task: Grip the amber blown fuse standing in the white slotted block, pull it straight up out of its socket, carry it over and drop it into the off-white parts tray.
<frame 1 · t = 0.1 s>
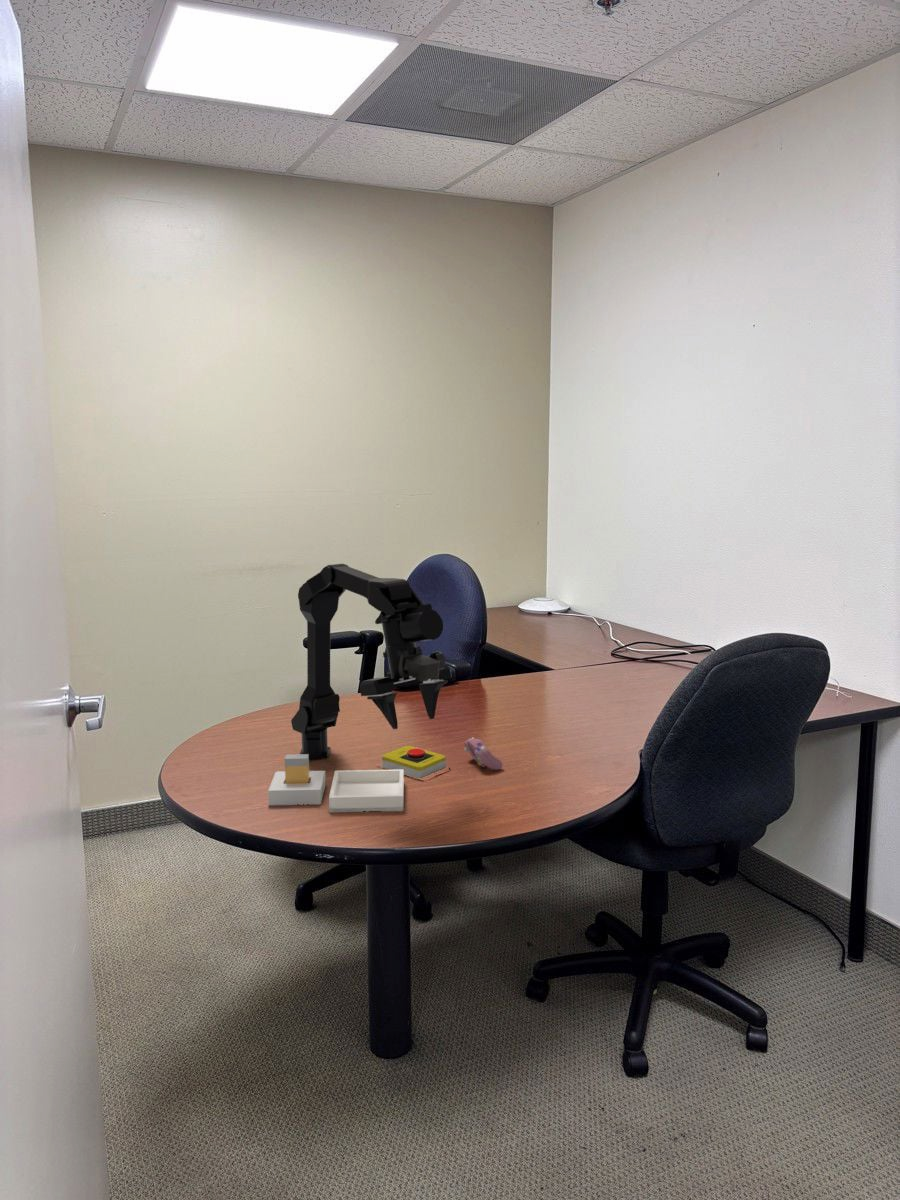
hand: (414, 723, 170), 15 cm above the table, tool pointing down, fingers open, 9 cm apart
parts tray: (368, 797, 174), on the table
emergency button: (412, 770, 190), on the table
white slotted block: (298, 794, 175), on the table
video game controller: (482, 765, 192), on the table
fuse: (297, 775, 174), in the white slotted block
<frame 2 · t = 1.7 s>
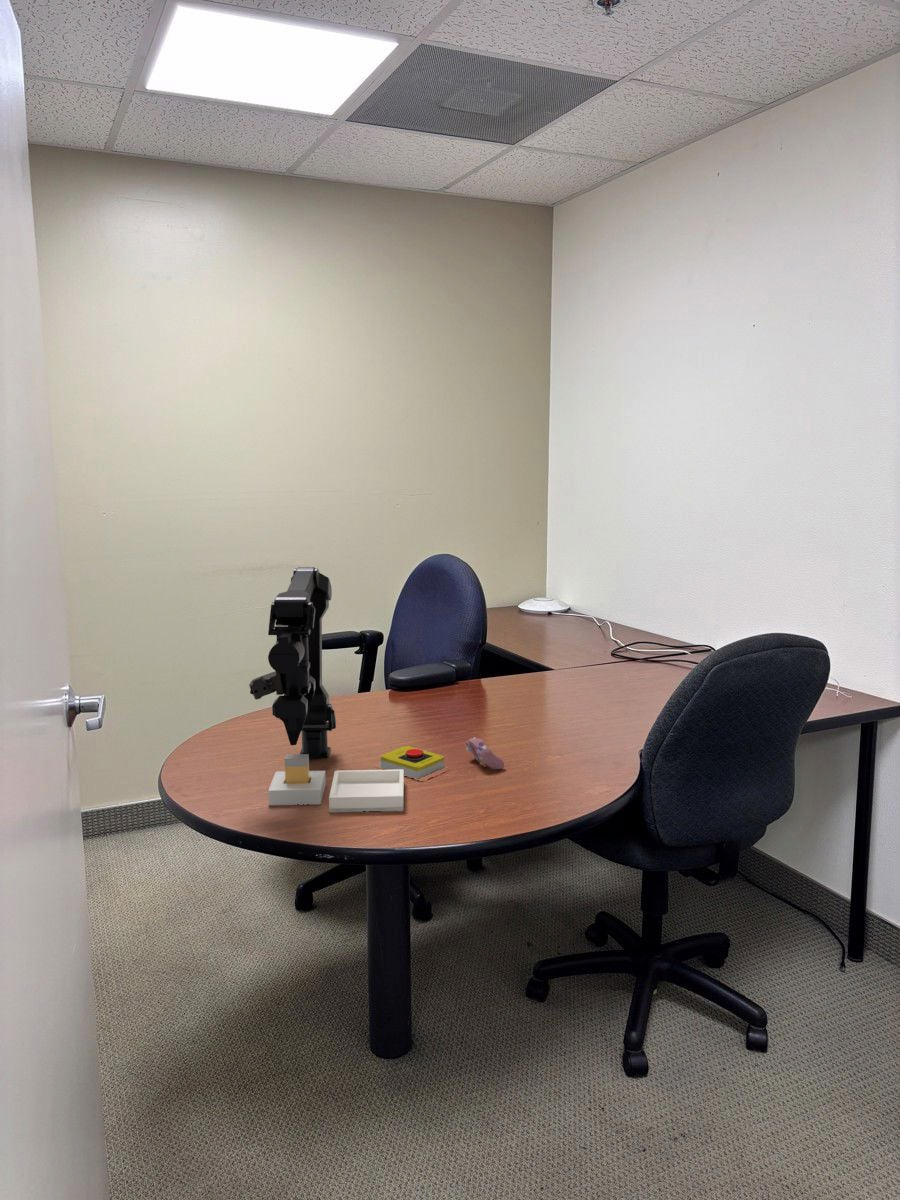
hand: (296, 737, 173), 12 cm above the table, tool pointing down, fingers open, 9 cm apart
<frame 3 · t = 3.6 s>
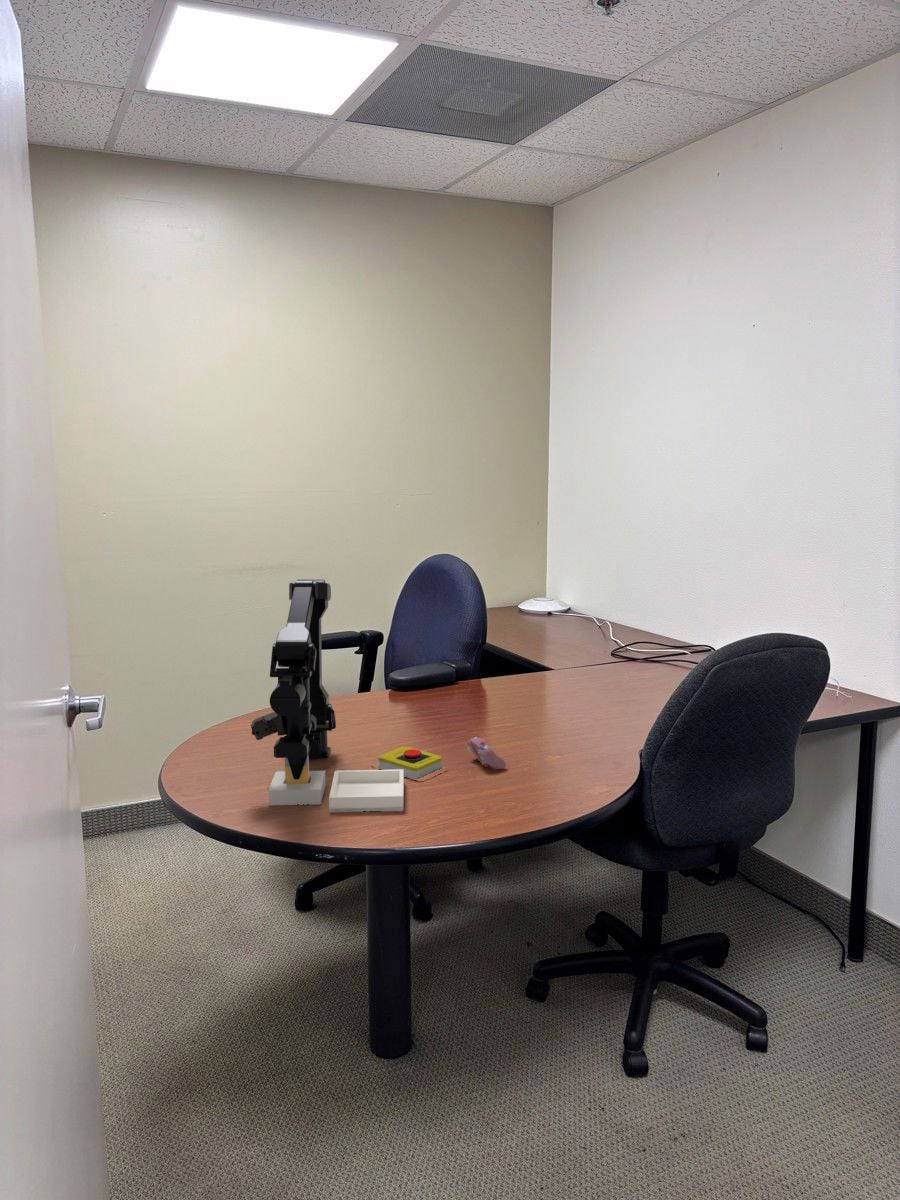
hand: (297, 776, 174), 4 cm above the table, tool pointing down, fingers closed on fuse, 2 cm apart
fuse: (297, 775, 174), in the white slotted block, touching gripper
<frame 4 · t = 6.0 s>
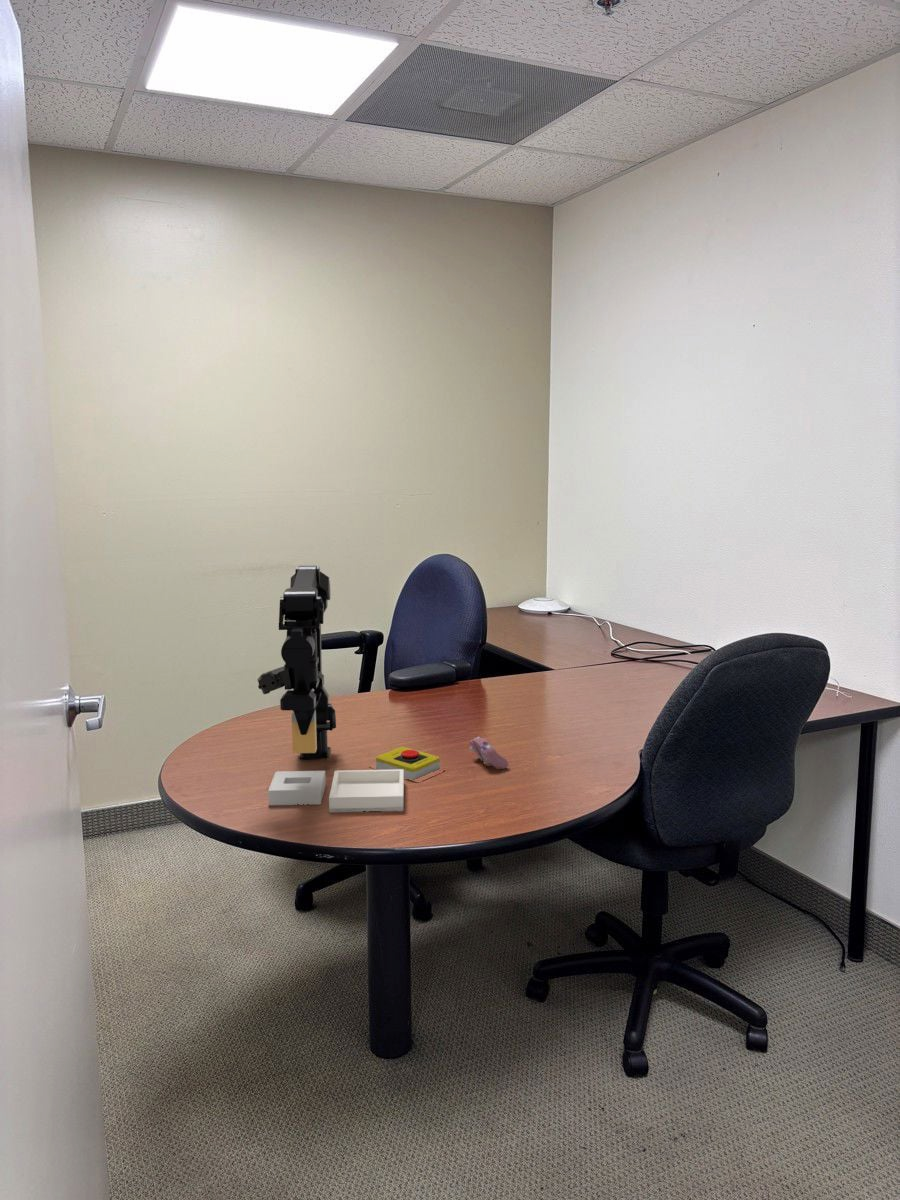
hand: (304, 732, 173), 13 cm above the table, tool pointing down, fingers closed on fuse, 2 cm apart
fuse: (304, 731, 173), point 13 cm above the table, touching gripper
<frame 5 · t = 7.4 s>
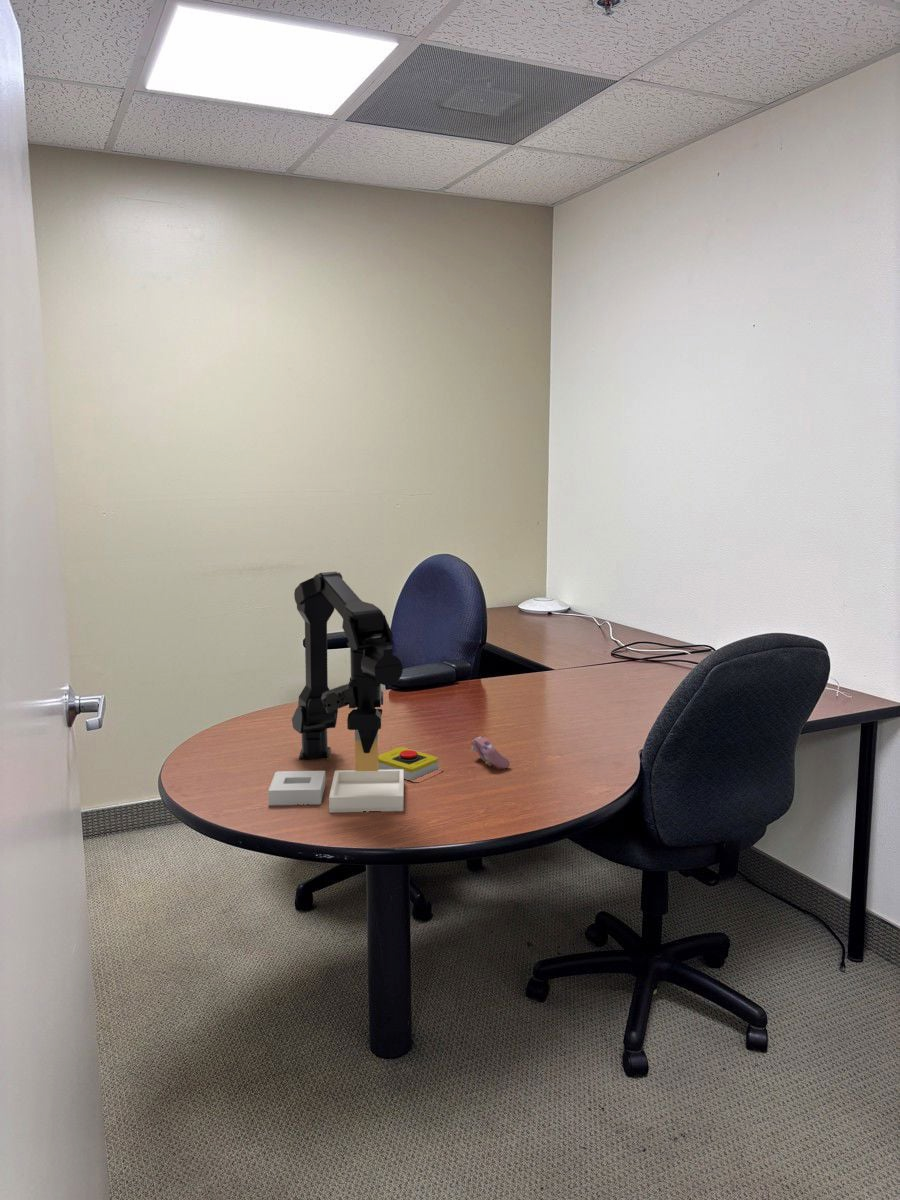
hand: (366, 750, 172), 10 cm above the table, tool pointing down, fingers closed on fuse, 2 cm apart
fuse: (366, 749, 172), point 10 cm above the table, touching gripper
when the fingers open (6 cm above the table, at t = 8.6 s): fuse drops 1 cm, resting on parts tray.
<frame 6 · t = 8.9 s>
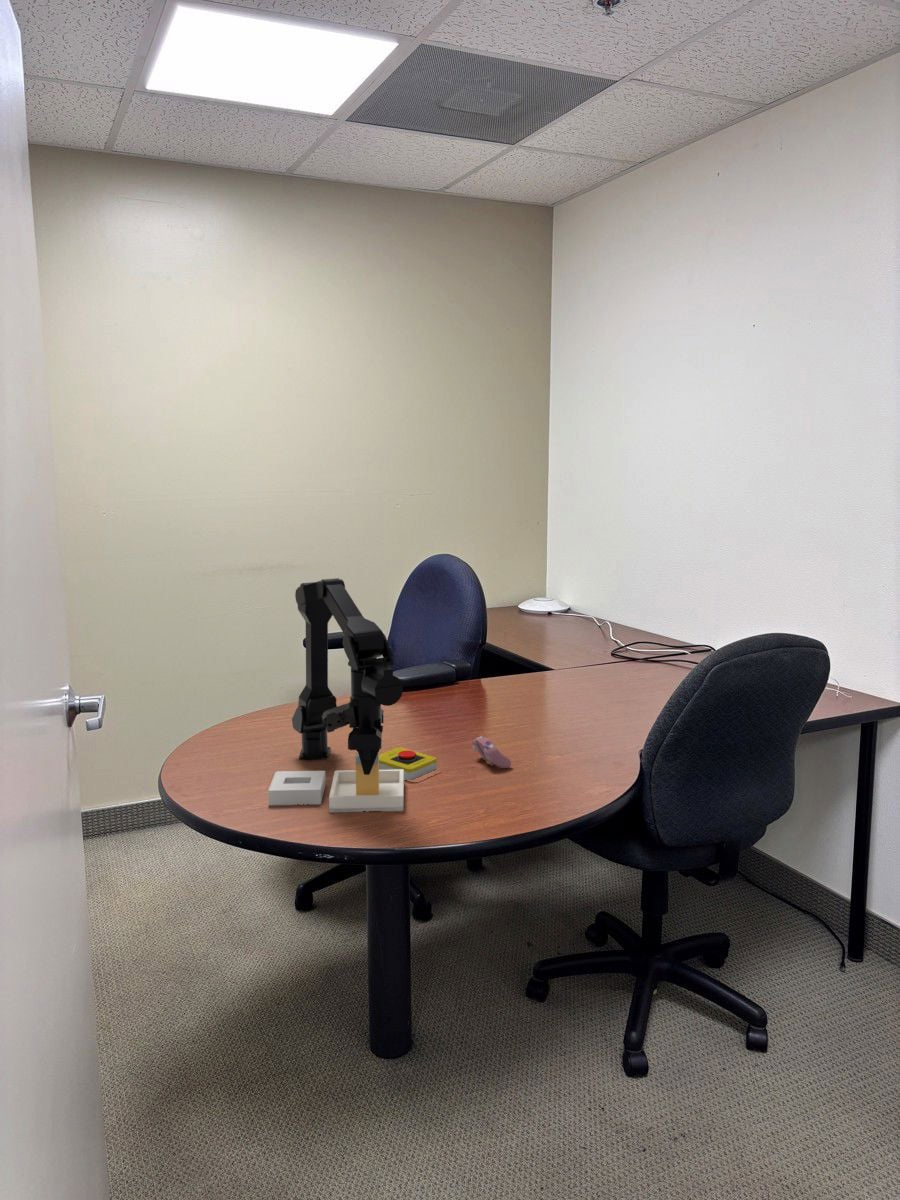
hand: (367, 769, 173), 6 cm above the table, tool pointing down, fingers open, 5 cm apart
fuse: (367, 774, 173), in the parts tray, point 5 cm above the table
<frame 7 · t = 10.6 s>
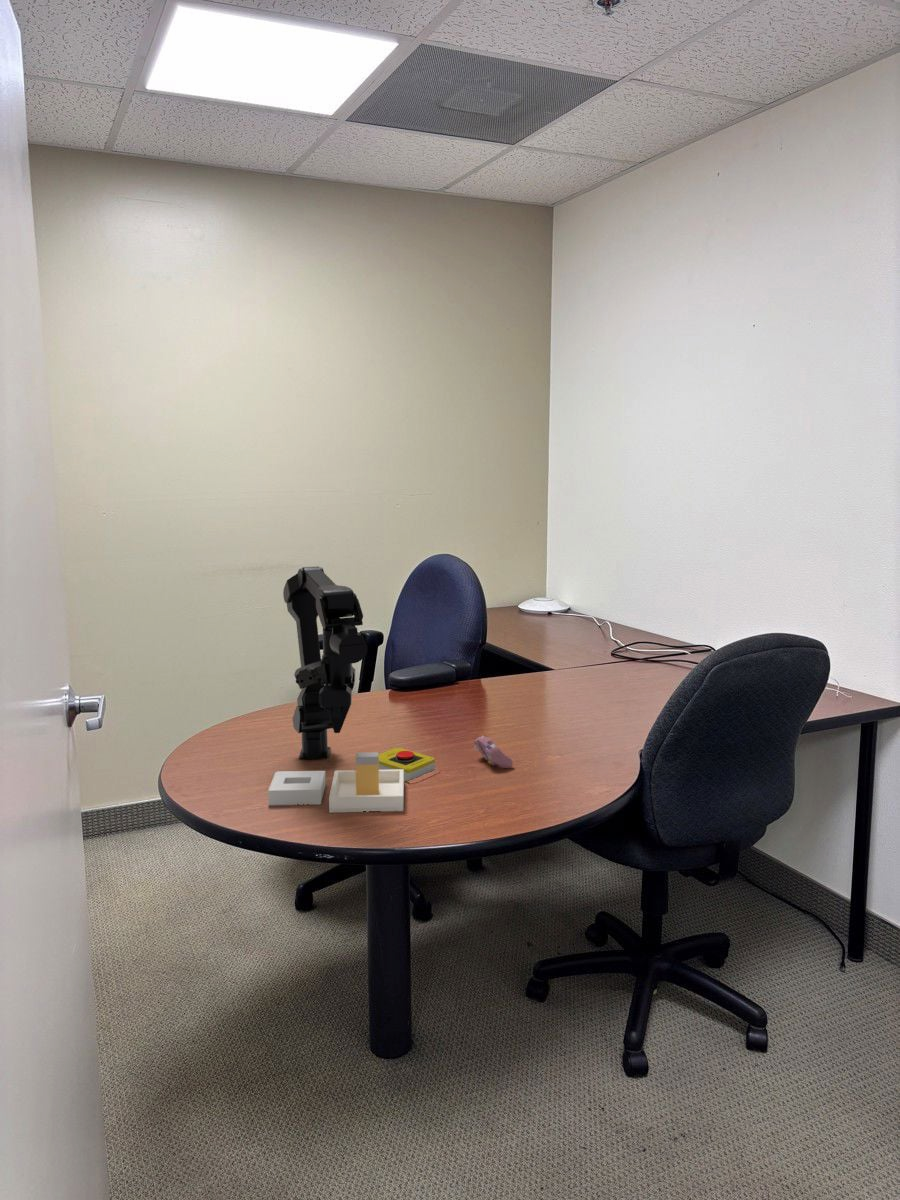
hand: (338, 724, 179), 12 cm above the table, tool pointing down, fingers open, 9 cm apart
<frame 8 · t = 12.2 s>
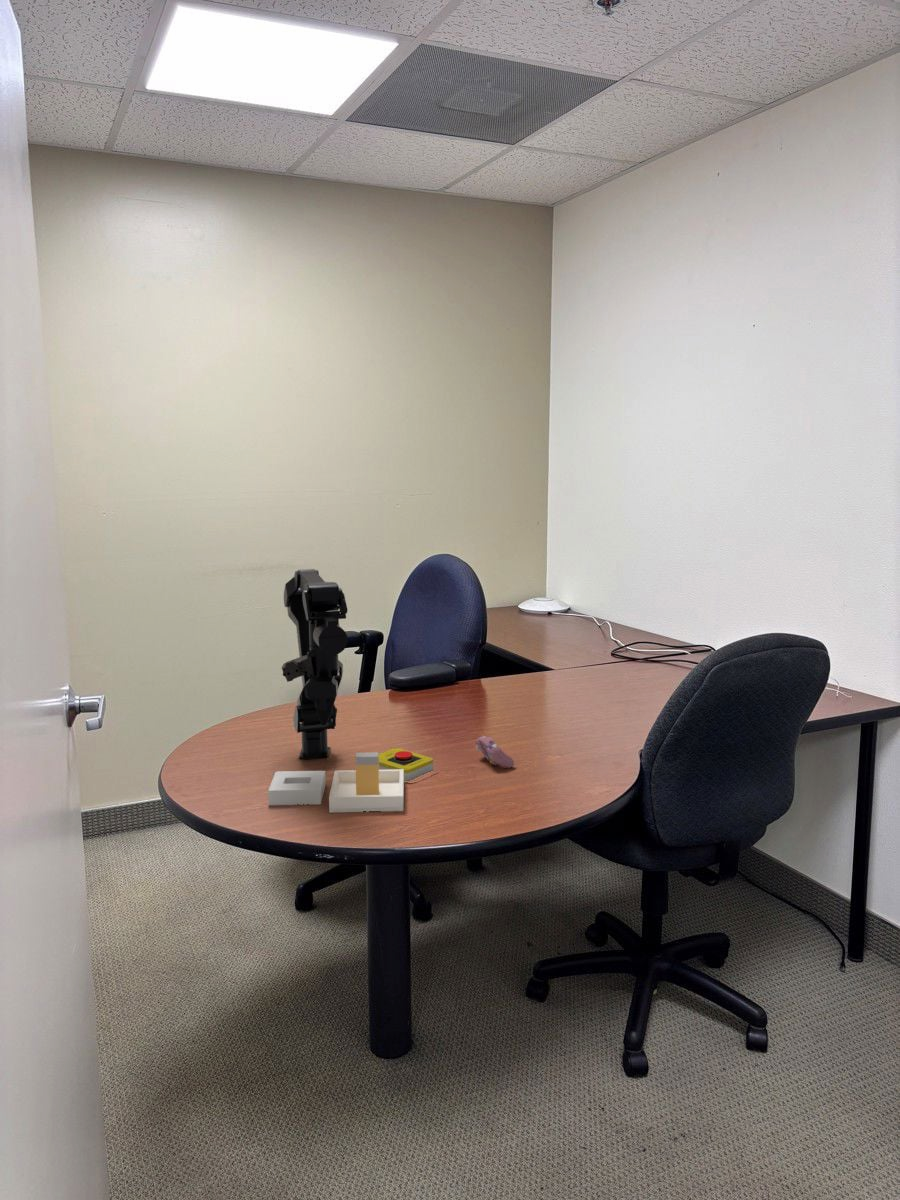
hand: (325, 717, 182), 13 cm above the table, tool pointing down, fingers open, 9 cm apart
at the end: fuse inside the target area on the parts tray (0.0 cm from its centre), point 4.8 cm above the parts tray's base; the gripper is holding nothing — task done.
